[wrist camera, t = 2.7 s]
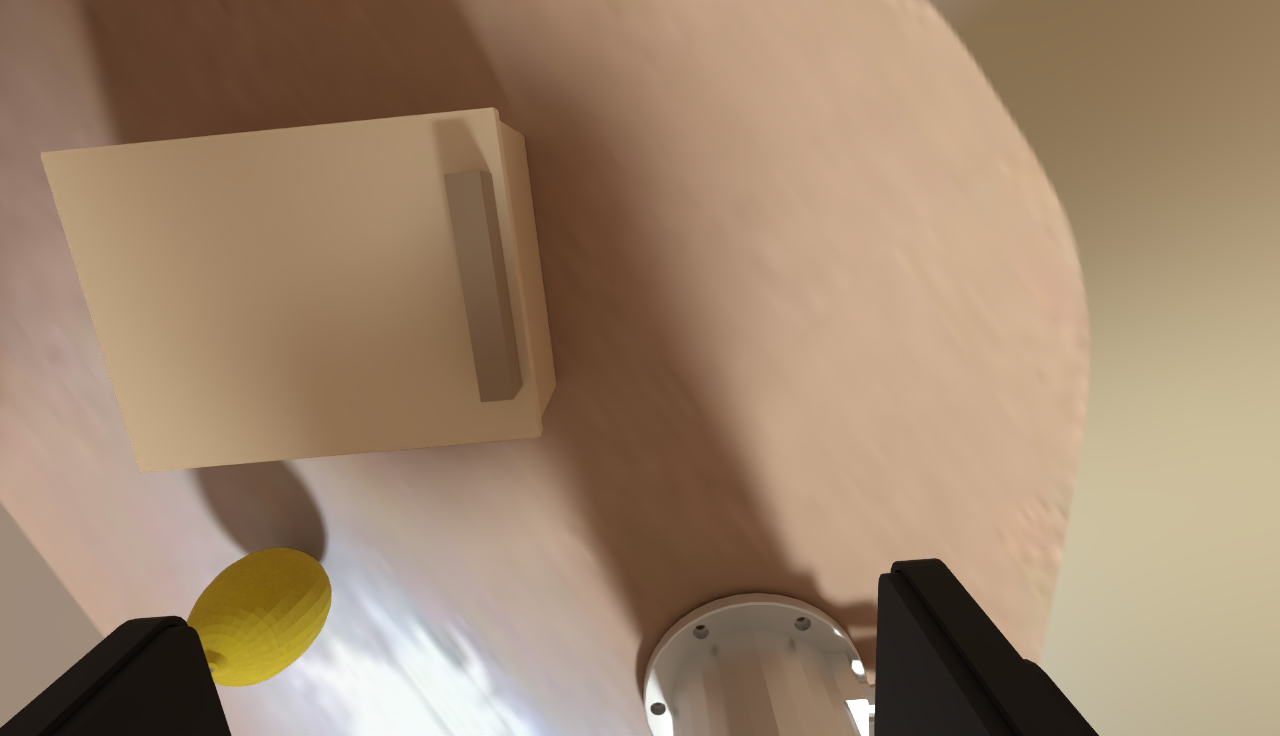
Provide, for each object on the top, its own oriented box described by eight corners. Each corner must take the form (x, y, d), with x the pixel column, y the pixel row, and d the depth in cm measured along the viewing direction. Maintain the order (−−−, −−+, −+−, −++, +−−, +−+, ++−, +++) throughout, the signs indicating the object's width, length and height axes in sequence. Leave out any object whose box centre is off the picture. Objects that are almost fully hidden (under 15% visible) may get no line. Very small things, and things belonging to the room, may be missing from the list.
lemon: (293, 625, 36) (197, 742, 28) (234, 546, 34) (116, 646, 27) (376, 585, 35) (301, 693, 27) (318, 504, 34) (223, 593, 26)
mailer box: (523, 135, 29) (494, 117, 23) (556, 385, 32) (538, 424, 26) (183, 169, 29) (71, 159, 24) (247, 412, 32) (161, 457, 27)
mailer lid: (498, 110, 23) (481, 98, 20) (542, 430, 26) (532, 454, 24) (59, 154, 23) (-11, 148, 21) (154, 464, 26) (103, 492, 24)
